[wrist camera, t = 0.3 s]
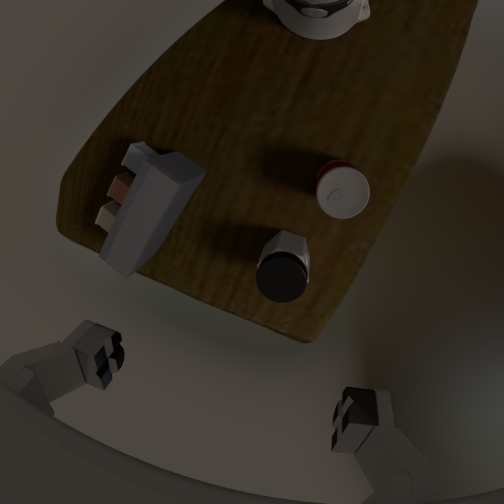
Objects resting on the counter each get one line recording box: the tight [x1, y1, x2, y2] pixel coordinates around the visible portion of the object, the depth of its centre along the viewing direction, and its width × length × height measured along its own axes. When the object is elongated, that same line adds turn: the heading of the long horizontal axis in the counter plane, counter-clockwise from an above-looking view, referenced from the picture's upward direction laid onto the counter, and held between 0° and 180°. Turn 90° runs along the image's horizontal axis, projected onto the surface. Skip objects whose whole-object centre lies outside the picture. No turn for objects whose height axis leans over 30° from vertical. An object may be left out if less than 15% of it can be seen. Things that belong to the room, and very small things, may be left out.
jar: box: [256, 230, 310, 302], centre depth 54 cm, size 9×8×12 cm
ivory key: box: [95, 200, 120, 233], centre depth 58 cm, size 8×4×4 cm, turn 54°
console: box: [99, 151, 207, 279], centre depth 55 cm, size 7×21×13 cm, turn 144°
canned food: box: [316, 159, 370, 219], centre depth 48 cm, size 8×8×11 cm
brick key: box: [107, 172, 134, 205], centre depth 55 cm, size 8×4×4 cm, turn 54°
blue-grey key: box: [121, 142, 160, 174], centre depth 52 cm, size 8×4×4 cm, turn 54°
